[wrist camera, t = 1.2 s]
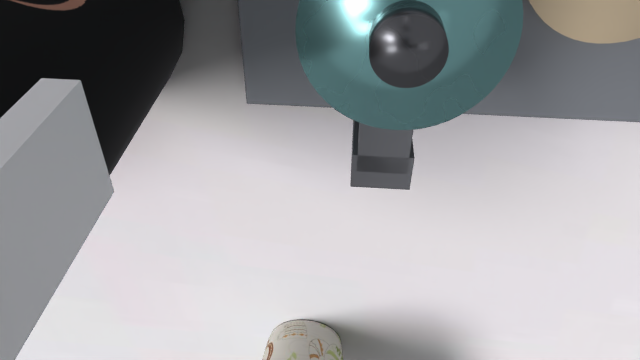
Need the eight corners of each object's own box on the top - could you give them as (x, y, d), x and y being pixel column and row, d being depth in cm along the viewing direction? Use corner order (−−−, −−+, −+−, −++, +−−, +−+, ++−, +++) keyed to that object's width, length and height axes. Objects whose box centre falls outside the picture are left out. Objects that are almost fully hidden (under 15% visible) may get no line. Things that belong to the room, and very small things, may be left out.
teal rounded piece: (313, -230, 15) (284, -221, 10) (521, -227, 15) (606, -216, 10) (312, 97, 22) (294, 207, 17) (455, 104, 22) (483, 218, 17)
